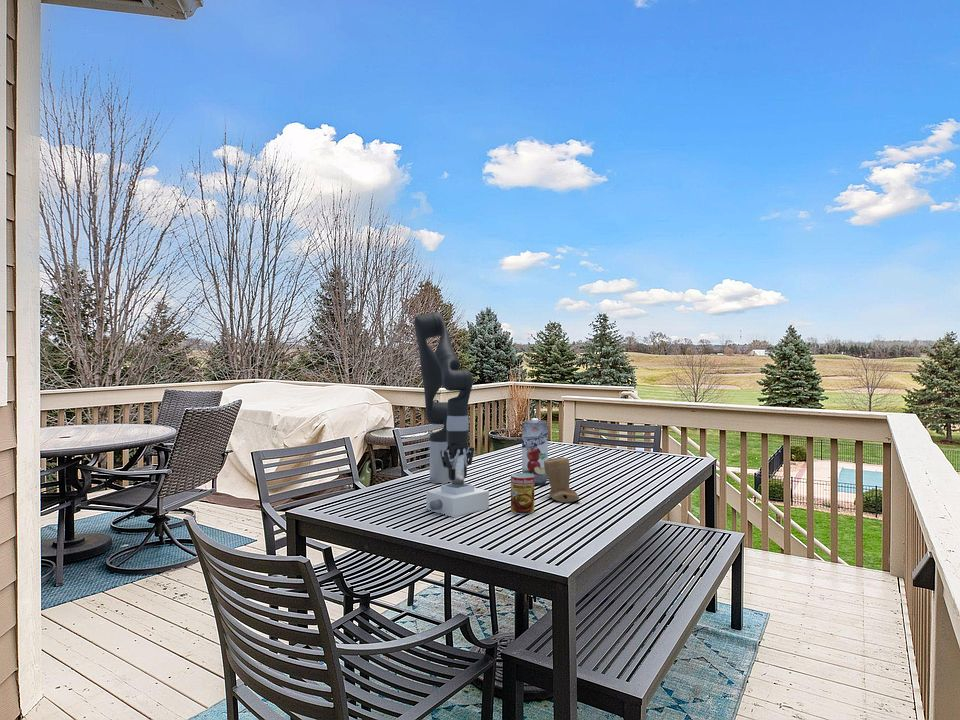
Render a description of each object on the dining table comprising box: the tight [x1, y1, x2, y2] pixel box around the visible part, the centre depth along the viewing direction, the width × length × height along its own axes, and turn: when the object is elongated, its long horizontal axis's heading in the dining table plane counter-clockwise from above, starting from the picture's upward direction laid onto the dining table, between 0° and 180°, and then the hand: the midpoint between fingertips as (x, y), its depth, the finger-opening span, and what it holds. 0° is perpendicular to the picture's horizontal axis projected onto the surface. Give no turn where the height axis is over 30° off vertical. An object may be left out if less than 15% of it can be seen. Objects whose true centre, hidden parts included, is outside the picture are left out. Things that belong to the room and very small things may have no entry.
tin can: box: [450, 455, 465, 486], centre depth 192 cm, size 4×4×10 cm
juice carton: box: [521, 417, 549, 486], centre depth 232 cm, size 9×10×27 cm
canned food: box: [510, 472, 535, 515], centre depth 189 cm, size 8×8×12 cm
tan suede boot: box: [544, 456, 580, 503], centre depth 206 cm, size 15×12×15 cm
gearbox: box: [425, 482, 490, 518], centre depth 190 cm, size 19×14×8 cm
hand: (457, 478), depth 192 cm, fingers closed on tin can, 4 cm apart
